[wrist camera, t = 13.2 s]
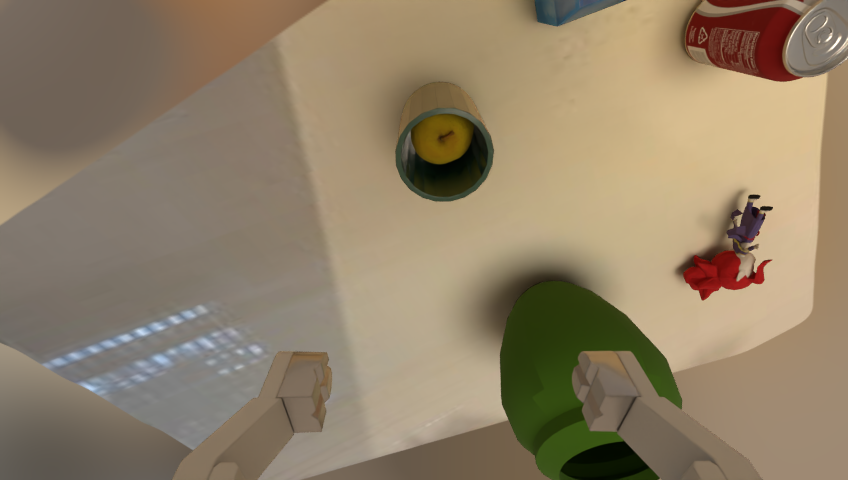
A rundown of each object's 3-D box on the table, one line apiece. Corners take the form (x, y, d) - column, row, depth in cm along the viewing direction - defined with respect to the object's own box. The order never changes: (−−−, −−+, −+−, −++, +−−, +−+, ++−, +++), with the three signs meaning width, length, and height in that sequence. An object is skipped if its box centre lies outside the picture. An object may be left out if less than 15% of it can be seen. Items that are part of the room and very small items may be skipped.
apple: (471, 90, 39) (482, 110, 32) (465, 149, 43) (473, 177, 36) (412, 88, 39) (410, 107, 32) (410, 147, 42) (408, 175, 36)
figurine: (777, 188, 45) (737, 279, 54) (698, 190, 47) (672, 277, 56) (809, 215, 40) (760, 311, 49) (720, 216, 42) (687, 308, 51)
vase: (612, 235, 50) (742, 398, 30) (610, 330, 60) (705, 499, 40) (472, 265, 53) (503, 432, 32) (493, 351, 63) (527, 518, 43)
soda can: (699, 77, 39) (795, 105, 29) (667, 28, 36) (760, 41, 26) (766, 21, 36) (898, 30, 26) (736, -35, 34) (869, -49, 24)
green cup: (400, 81, 39) (393, 107, 30) (480, 81, 39) (498, 108, 30) (402, 158, 44) (397, 201, 35) (474, 158, 44) (488, 201, 35)
